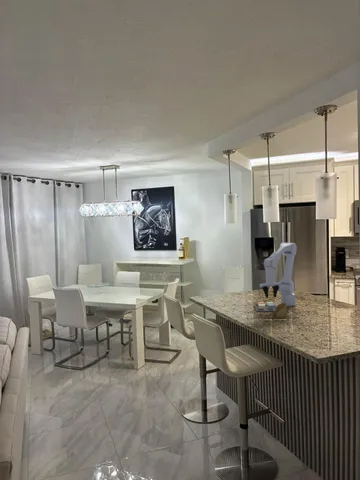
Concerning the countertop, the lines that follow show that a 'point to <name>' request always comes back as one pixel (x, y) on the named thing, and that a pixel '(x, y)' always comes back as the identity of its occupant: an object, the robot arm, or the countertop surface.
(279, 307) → the rock
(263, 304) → the key cream
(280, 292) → the robot arm
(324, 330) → the countertop surface
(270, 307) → the key slate
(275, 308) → the dark grey tray
